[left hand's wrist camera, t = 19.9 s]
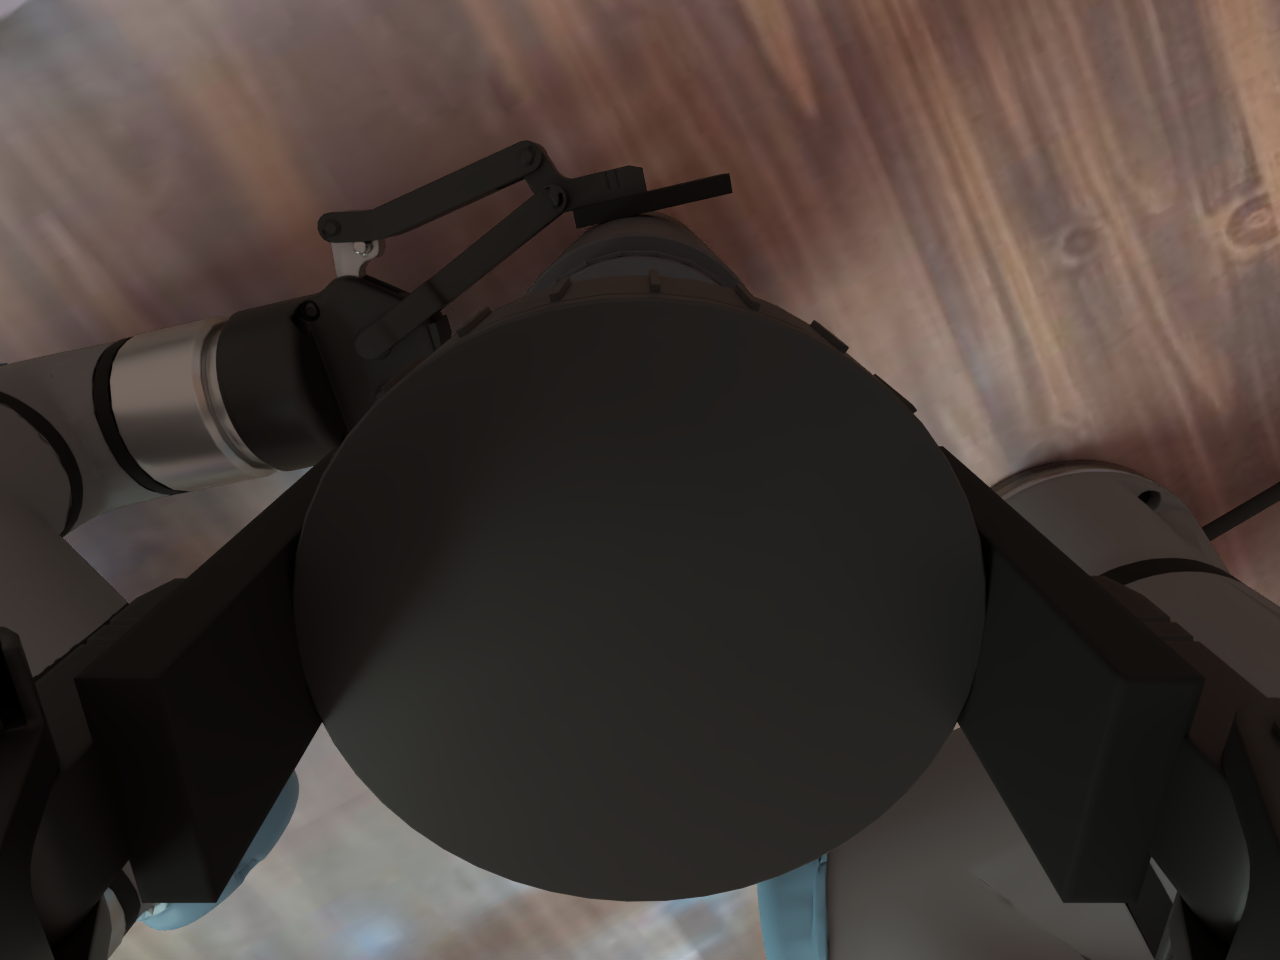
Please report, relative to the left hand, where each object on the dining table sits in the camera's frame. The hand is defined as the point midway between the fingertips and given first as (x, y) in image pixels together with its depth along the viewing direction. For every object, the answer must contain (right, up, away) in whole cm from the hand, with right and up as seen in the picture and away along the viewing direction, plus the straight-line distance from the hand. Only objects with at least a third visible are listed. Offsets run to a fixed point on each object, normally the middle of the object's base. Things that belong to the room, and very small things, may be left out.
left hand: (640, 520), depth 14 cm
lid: (0, -1, -3) cm, 4 cm away
